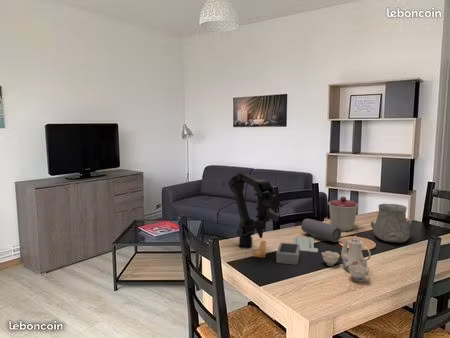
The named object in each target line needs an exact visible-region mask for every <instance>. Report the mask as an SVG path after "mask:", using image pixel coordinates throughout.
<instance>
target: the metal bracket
mask: <svg viewBox="0 0 450 338" xmlns="http://www.w3.org/2000/svg"><path fill="white" fill-rule="evenodd" d="M292 238H293V239H292V244H300V252H311V253H319V248H318V247H317V248H316V247H314V245H315V244H314V241H315V240H314V237H311V236H309V237H304V236H302V237H301V236H293V237H292Z"/></svg>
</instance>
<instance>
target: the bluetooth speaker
mask: <svg viewBox="0 0 450 338" xmlns="http://www.w3.org/2000/svg"><path fill="white" fill-rule="evenodd" d="M300 225H301V226H300V227H301V231H302V232H304V233H306V234H308V235H309V236H310V235H311V236H312V238H313V239H317V240H320V241H324V242H330V241H331V242H333V243H337V242H338V241H339V240H340V239H341V237H342V231H341V230H340V228H338V227H336V226H333V225H331V223H327V222H323V221H320V220H317V219H311V218H305V219H303V220H302V222H301V224H300Z"/></svg>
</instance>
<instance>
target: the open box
mask: <svg viewBox="0 0 450 338" xmlns="http://www.w3.org/2000/svg"><path fill="white" fill-rule="evenodd" d="M300 252H301V251H300V244H293V242H292V243H290V242H280V243H279V246H278V247H277V251H276V255H275V256H276V261H275V262H276V263H277V264H285V265H287V264H288V265H294V266H295V265H296V266H297V265H298V263H299V258H300Z"/></svg>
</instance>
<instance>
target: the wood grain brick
mask: <svg viewBox="0 0 450 338" xmlns="http://www.w3.org/2000/svg"><path fill="white" fill-rule="evenodd" d="M266 255H267V241H266V240H261V241H260V243H259V250H254V251H253V253H252V256H253V257H257V258H266Z"/></svg>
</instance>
